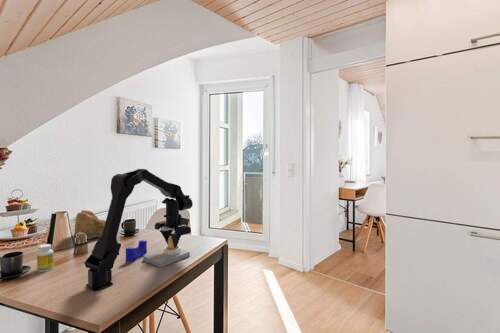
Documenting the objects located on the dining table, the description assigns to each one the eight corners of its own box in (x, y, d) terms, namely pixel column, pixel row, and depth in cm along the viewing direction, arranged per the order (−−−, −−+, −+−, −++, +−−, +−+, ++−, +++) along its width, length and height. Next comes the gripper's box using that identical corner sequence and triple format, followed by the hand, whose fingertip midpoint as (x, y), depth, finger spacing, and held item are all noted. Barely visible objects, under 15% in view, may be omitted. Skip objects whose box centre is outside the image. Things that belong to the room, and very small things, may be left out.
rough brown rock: (107, 243, 149) (109, 214, 149) (70, 244, 142) (73, 214, 142) (108, 233, 170) (110, 208, 171) (76, 233, 163) (78, 207, 163)
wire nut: (171, 250, 125) (172, 237, 125) (165, 249, 127) (166, 236, 127) (178, 248, 128) (179, 236, 128) (172, 247, 131) (173, 234, 131)
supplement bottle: (41, 267, 114) (41, 243, 114) (56, 266, 115) (55, 243, 115) (34, 272, 109) (33, 248, 109) (49, 271, 110) (49, 247, 110)
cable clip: (137, 252, 133) (137, 240, 133) (146, 253, 132) (146, 240, 132) (122, 262, 121) (122, 248, 121) (132, 262, 121) (132, 248, 120)
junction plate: (160, 267, 116) (160, 257, 116) (143, 260, 123) (143, 251, 123) (189, 256, 129) (189, 247, 129) (172, 250, 136) (172, 242, 136)
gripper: (200, 212, 128) (199, 246, 129) (173, 207, 139) (173, 238, 140) (180, 216, 119) (180, 252, 120) (153, 210, 130) (154, 244, 131)
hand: (172, 246), depth 128 cm, fingers closed on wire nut, 4 cm apart
